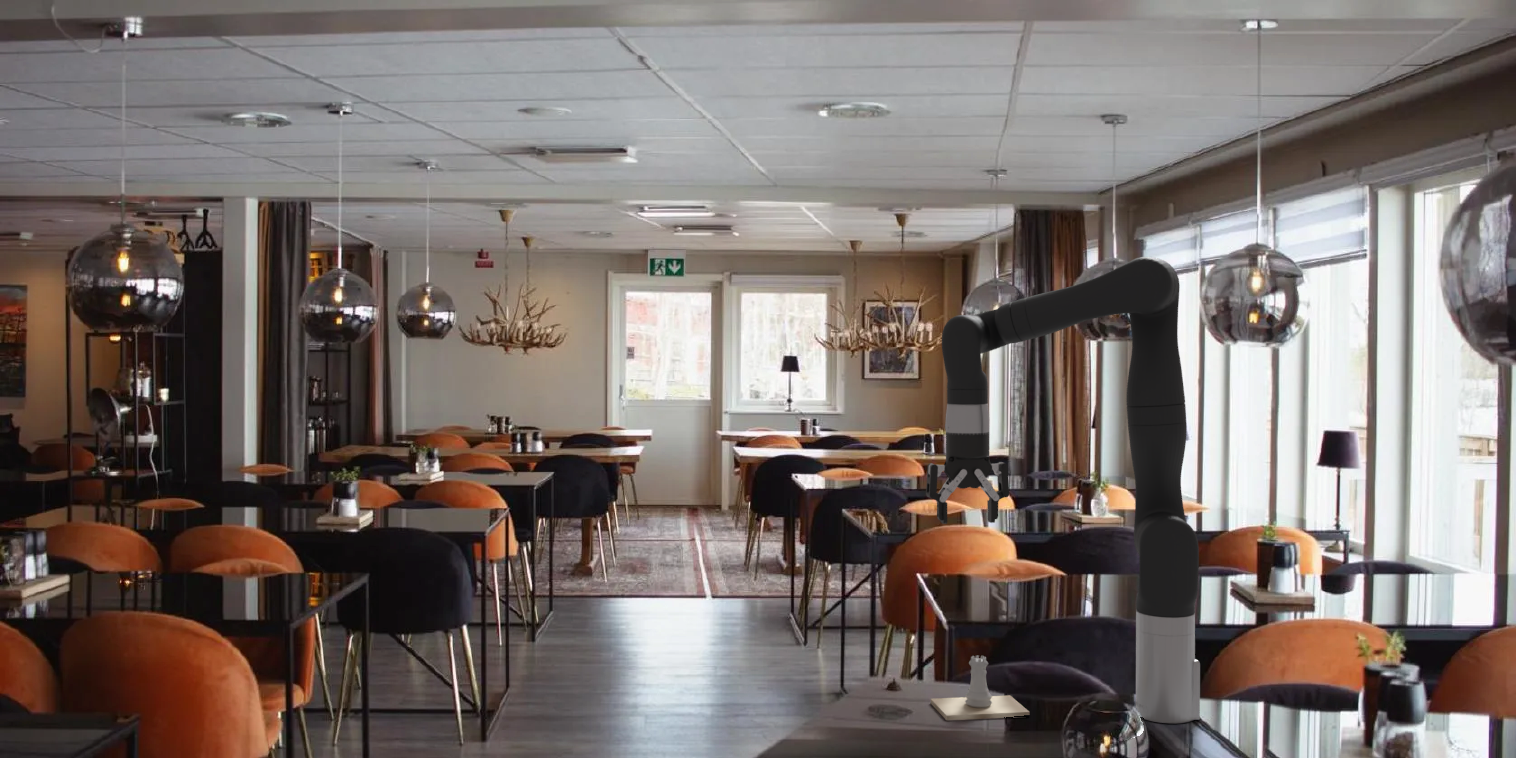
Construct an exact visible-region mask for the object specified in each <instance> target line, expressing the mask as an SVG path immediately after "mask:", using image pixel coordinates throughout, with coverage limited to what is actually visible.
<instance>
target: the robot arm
mask: <svg viewBox="0 0 1516 758" xmlns="http://www.w3.org/2000/svg"><path fill="white" fill-rule="evenodd" d="M1179 279H1180V278H1179V276H1178V274H1177V271H1176V270H1175V268H1174V267H1173V266H1172V265H1171V264H1170V263H1168V262H1167V261H1165V260H1164V259H1161V258H1156V257H1152V256H1141V257H1136V258H1133V259H1132V260H1130V261H1128V262H1127V263H1125V264H1123V265H1121V266H1119V267H1117V268H1115V269H1113V270H1110V271H1108V272H1107V273H1104V274H1102V275H1100V276H1097V277H1095V278H1092V279H1090V280H1086V281H1083V282H1081V283H1077V284H1075V285H1074V284H1073V285H1071V286H1068V287H1064V288H1059V289H1055V290H1051V291H1046V292H1043V293H1039V294H1035V295H1032V296H1027V297H1023V298H1021V299H1018V300H1013V301H1009V302H1007V303H1004V304H1003V305H1002V304H1001V305H1000V306H998V308H996V309H992V310H988V311H984V312H980V313H976V314H972V315H971V314H970V315H966V314H965V315H964V314H963V315H962V314H961V315H955V316H953V317H952V318H950V319H949V320H948V321H947V322H946V324H945V325H944V327H943V330H942V332H941V333H942V334H941V350H942V358H943V365H944V370H945V373H946V380H947V385H946V391H947V392H946V401H947V402H946V411H945V422H944V423H945V424H944V428H945V461H944V464H934V463H931V462H930V463H928V464H927V467H926V468H927V471H926V486H925V487H926V488H925V496H926V497H927V498H929V499H932V500H934V501H935V502H936V518H937V520H938V521H939V522H940V523H941V524H942V525H944V524H945V525H946V524H948V502H947V500H948V499H949V497H950V496H951V494H953V493H954V492H955V490H956V489H957V488H958V489H960V490H961V489H968V488H969V489H970V488H971V489H979V488H980V489H981V490H982V491H983V492H984V493H985V494H986V496H987V497H988V499H987V522H988V523H991V524H993V523H996V520H998V518H999V502H1000V501H1001V499H1002V500H1003V498H1008V497H1009V496H1010V485H1009V484H1010V483H1009V468H1008V467H1009V465H1008V464H1007V463H1006V462H1002V461H998V462H997V463H991V461H990V412H989V403H988V402H989V392H988V390H989V389H988V388H989V385H988V384H989V383H988V376H987V374H986V373H985V371H983V368H982V356H981V354H985V353H988V352H992V351H993V350H997V349H1000V348H1003V347H1006V346H1007V345H1010V344H1011V345H1012V344H1017V343H1021V342H1026V341H1029V340H1032V339H1033V340H1034V339H1037V338H1040V337H1043V336H1046V335H1051V334H1053V333H1057V332H1058V331H1062V330H1065V329H1067V328H1070V327H1072V326H1076V325H1078V324H1081V323H1083V322H1086V321H1090V320H1094V319H1098V318H1103V317H1108V316H1115V315H1124V314H1128V315H1129V321H1130V322H1129V323H1130V329H1131V338H1132V340H1131V343H1132V345H1131V347H1132V348H1131V356H1130V363H1129V369H1128V374H1127V375H1128V376H1127V382H1126V383H1127V385H1126V400H1125V401H1126V415H1127V417H1126V418H1127V428H1128V431H1127V432H1128V438H1129V447H1130V456H1131V461H1132V468H1133V472H1134V473H1133V475H1134V484H1135V504H1134V505H1135V506H1134V507H1135V508H1134V510H1135V511H1134V525H1133V527H1134V528H1133V543H1134V548H1135V550H1136V553H1137V554H1138V556H1139V559H1138V560H1139V562H1138V563H1139V566H1138V567H1139V571H1138V575H1139V576H1138V589H1137V593H1136V598H1135V601H1136V602H1135V709H1136V708H1137V710H1138V712H1140V713H1141V715H1142V717H1143V718H1144V719H1143V718H1142V719H1143V720H1145V721H1150V722H1155V723H1161V724H1162V723H1163V724H1184V723H1189V722H1192V721H1194V720H1200V718H1201V717H1200V716H1201V715H1200V714H1201V713H1200V711H1201V705H1200V704H1201V699H1200V698H1201V663H1200V661H1199V660H1198V659H1197V658H1196V655H1195V654H1196V636H1195V634H1196V632H1195V631H1196V603H1197V598H1198V592H1199V570H1200V569H1199V567H1200V566H1199V564H1200V554H1199V553H1200V549H1199V541H1198V537H1197V534H1196V532H1195V530H1194V529H1193V528H1192V526H1191V525H1190V524H1189V523H1187V520H1186V515H1185V509H1184V502H1183V494H1182V470H1183V464H1184V458H1185V451H1186V444H1187V428H1188V426H1187V409H1186V408H1187V407H1186V396H1185V387H1184V381H1183V370H1182V363H1181V357H1180V350H1179V342H1178V341H1179V340H1178V338H1179V337H1178V328H1179V327H1178V326H1179V324H1178V323H1179V322H1178V321H1179V303H1180V302H1179V301H1180V300H1179V299H1180V280H1179ZM992 471H993V473H994V475H996V476H997V477H996V478H997V490H995V489H994V487H993V485H992V484H991V482H990V481H989V480H988V477H989V476H990V474H991V472H992ZM942 472H944V474H945V475H946V477H947V479H946V481H945V482H944V483H943V485H942V487H941V489H940V490H939V492H937V491H938V489H937V487H938V478H939V477H941V475H942Z"/></svg>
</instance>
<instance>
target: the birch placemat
mask: <svg viewBox="0 0 1516 758" xmlns="http://www.w3.org/2000/svg"><path fill="white" fill-rule="evenodd" d="M991 697H992V698H991V699H990V700H991V702H992V703H991V705H990V706H989V707H986V708H974V707H970V706H968V705H967V704H966V702H965V701H966V700H967V698H966V696H964V697H960V696H959V697H943V698H937V697H936V698H930V705H931V706H933V708H934V709H935V710H936V711H937V712H938V713H939V714H940V715H941V716H942V718H944V719H945V721H964V720H965V721H967V720H984V719H985V720H986V719H989V720H990V719H1006V717H1013V718H1015V717H1014V716H1024V715H1030V710H1028V709H1027V708H1025V707H1024V706H1023V705H1022V704H1021V703H1020V702H1018V701H1017V700H1016V699H1015V698H1014V697H1013V696H1012V695H991ZM1004 717H1005V718H1004Z"/></svg>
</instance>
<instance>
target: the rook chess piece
mask: <svg viewBox="0 0 1516 758" xmlns="http://www.w3.org/2000/svg"><path fill="white" fill-rule="evenodd" d="M979 657H980V658H979ZM968 664H969V666H970V668H971V669H970V671H969V673H970V674H971V675H970V684H969V685H970V686H969V688H968V689H967V690H968V691H967V692H966V694H965V697H966V698H967V700H966V701H965V702H966V704H967V705H968V706H970V707H974V708H986V707H989V706H990V705H991V703H992V702H991V700H990V699H991V698H992V697H991V696H992V694H991V693H990V690H989V688H988V685H987V673H988V672H987V670H986V668H987V667H988V665H989V662H988V661H987V657H986V656H984V655H981V656H980V655H975V656H974V655H972V656H970V660H969V662H968Z"/></svg>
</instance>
